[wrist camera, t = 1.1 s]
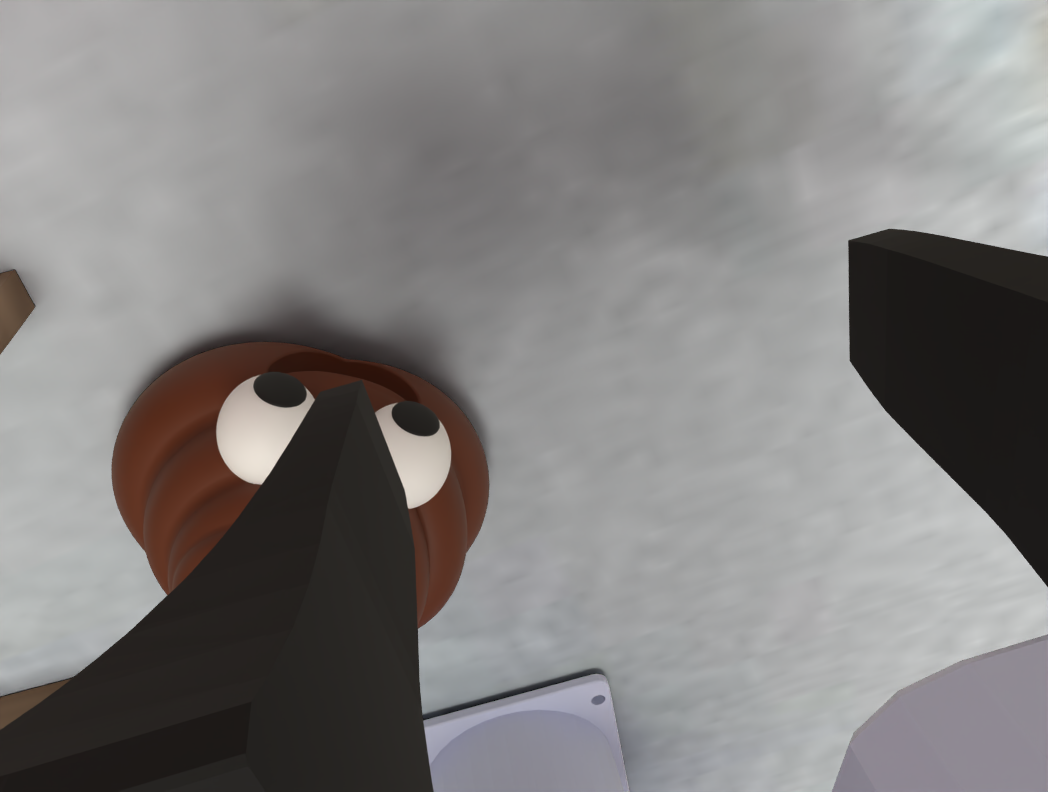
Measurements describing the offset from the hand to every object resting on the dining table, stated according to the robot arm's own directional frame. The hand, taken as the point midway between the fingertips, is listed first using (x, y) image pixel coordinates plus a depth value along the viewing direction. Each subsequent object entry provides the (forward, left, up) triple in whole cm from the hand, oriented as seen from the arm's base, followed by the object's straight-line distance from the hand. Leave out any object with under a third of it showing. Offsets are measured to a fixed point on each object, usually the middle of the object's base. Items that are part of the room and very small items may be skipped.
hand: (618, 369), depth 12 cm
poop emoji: (-7, +7, -11) cm, 14 cm away
